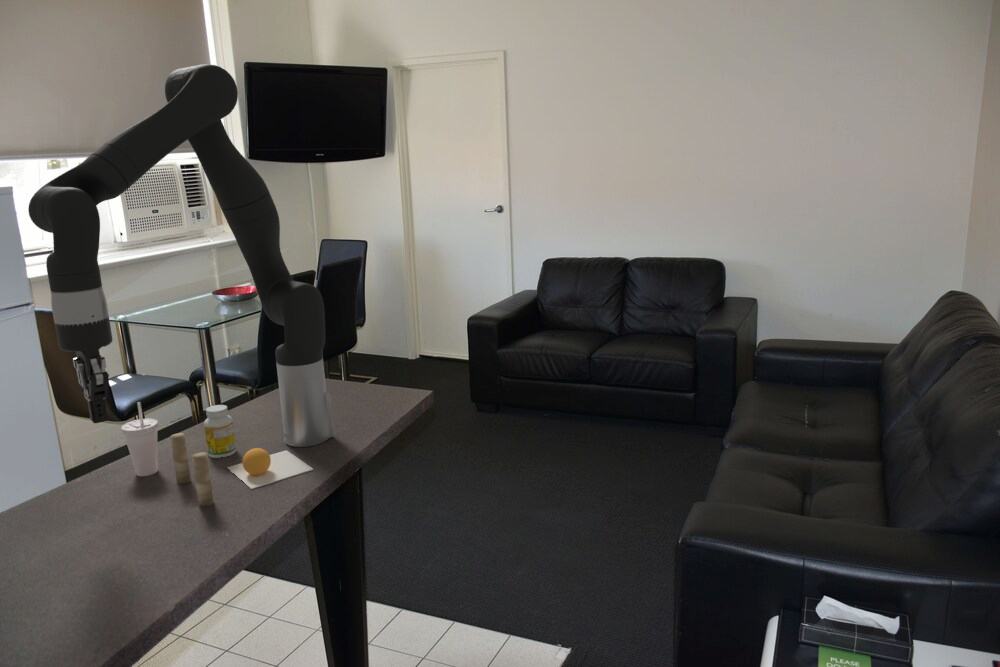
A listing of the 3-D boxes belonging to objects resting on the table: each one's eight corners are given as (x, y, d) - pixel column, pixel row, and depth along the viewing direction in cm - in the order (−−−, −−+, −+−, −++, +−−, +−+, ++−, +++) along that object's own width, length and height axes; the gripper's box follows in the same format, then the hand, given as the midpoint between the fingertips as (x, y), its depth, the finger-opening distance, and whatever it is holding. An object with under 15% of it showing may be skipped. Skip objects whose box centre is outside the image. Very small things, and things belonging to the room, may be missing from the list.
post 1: (188, 477, 140) (182, 432, 137) (192, 481, 138) (186, 435, 136) (175, 480, 138) (168, 435, 136) (179, 485, 136) (172, 439, 134)
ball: (258, 439, 142) (234, 454, 139) (268, 447, 138) (243, 462, 135) (268, 461, 144) (245, 475, 141) (279, 468, 140) (255, 483, 137)
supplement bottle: (237, 455, 149) (231, 410, 146) (208, 460, 147) (202, 414, 144) (235, 446, 153) (230, 401, 151) (207, 450, 152) (201, 406, 149)
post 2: (210, 499, 131) (204, 451, 128) (215, 503, 129) (209, 455, 127) (196, 503, 129) (189, 455, 127) (201, 508, 127) (194, 459, 125)
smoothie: (151, 480, 139) (140, 409, 135) (120, 478, 140) (109, 407, 136) (172, 466, 145) (162, 397, 141) (143, 463, 146) (132, 395, 142)
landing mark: (286, 451, 150) (286, 450, 150) (313, 469, 141) (313, 468, 141) (227, 468, 143) (226, 467, 143) (251, 489, 134) (251, 488, 134)
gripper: (118, 319, 114) (135, 426, 119) (98, 306, 124) (114, 405, 128) (63, 328, 110) (82, 438, 114) (46, 314, 120) (65, 416, 124)
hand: (99, 420), depth 121 cm, fingers closed
